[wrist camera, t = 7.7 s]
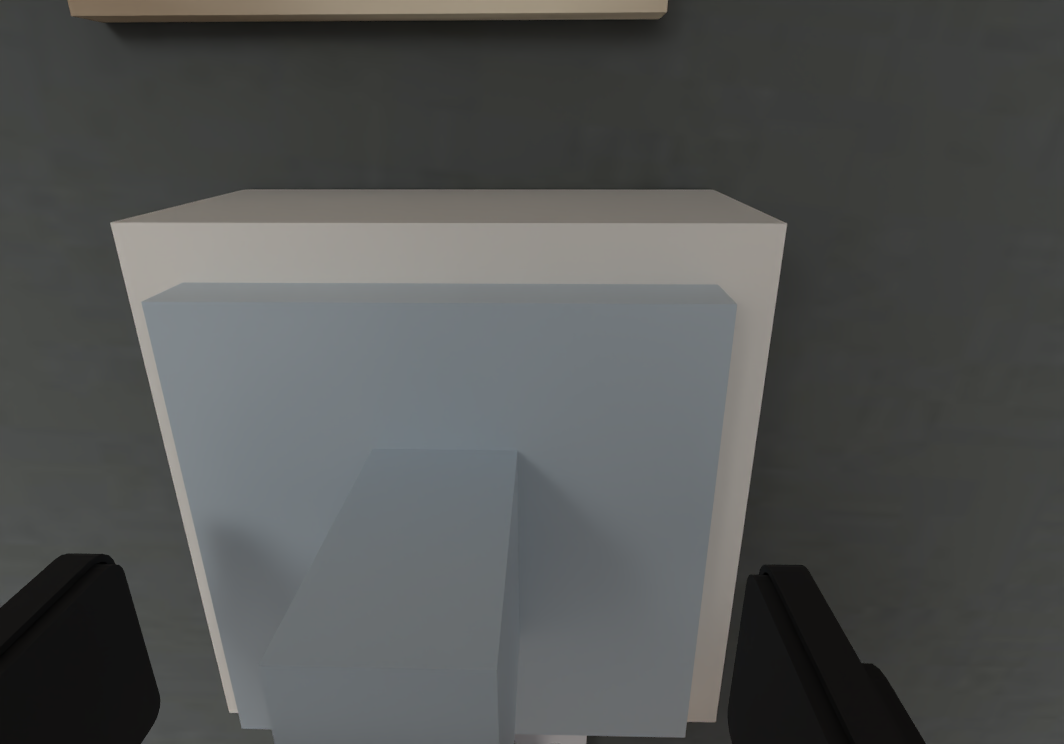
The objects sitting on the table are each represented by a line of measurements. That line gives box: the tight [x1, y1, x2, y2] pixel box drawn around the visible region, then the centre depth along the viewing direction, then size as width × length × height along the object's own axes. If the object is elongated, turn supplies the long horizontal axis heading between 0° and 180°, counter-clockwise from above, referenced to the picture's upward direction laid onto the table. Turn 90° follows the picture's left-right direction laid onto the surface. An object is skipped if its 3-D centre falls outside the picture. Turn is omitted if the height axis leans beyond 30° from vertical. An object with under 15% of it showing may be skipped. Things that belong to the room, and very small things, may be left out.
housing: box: [110, 189, 787, 722], centre depth 15 cm, size 11×11×5 cm
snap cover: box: [141, 282, 737, 744], centre depth 10 cm, size 9×9×6 cm
